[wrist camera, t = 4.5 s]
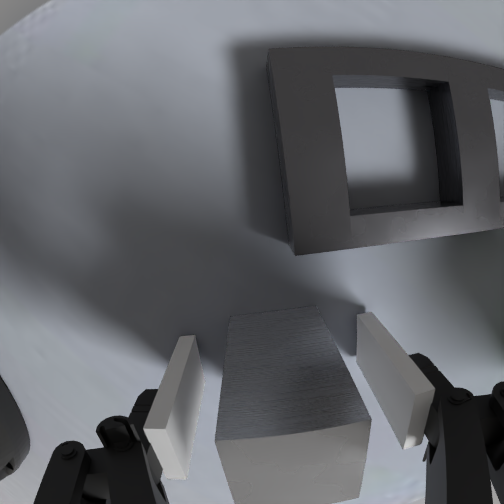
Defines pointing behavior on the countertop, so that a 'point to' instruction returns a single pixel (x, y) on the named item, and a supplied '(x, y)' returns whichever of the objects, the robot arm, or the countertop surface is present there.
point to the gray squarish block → (289, 412)
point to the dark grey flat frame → (332, 153)
